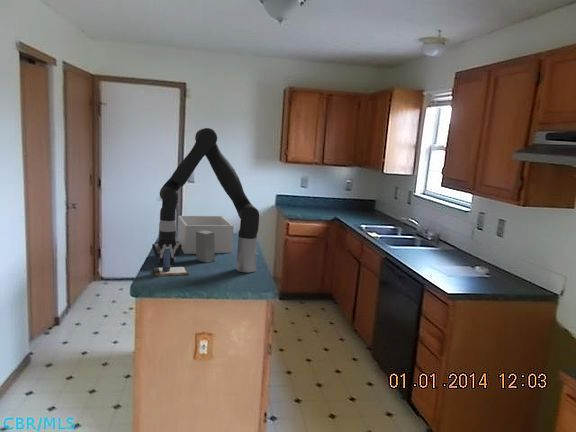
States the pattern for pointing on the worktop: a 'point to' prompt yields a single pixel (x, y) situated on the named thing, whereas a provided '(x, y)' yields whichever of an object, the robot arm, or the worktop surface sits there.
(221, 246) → the storage bin
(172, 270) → the paper
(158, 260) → the grey curved block
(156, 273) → the clipboard
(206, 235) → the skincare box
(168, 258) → the marker
